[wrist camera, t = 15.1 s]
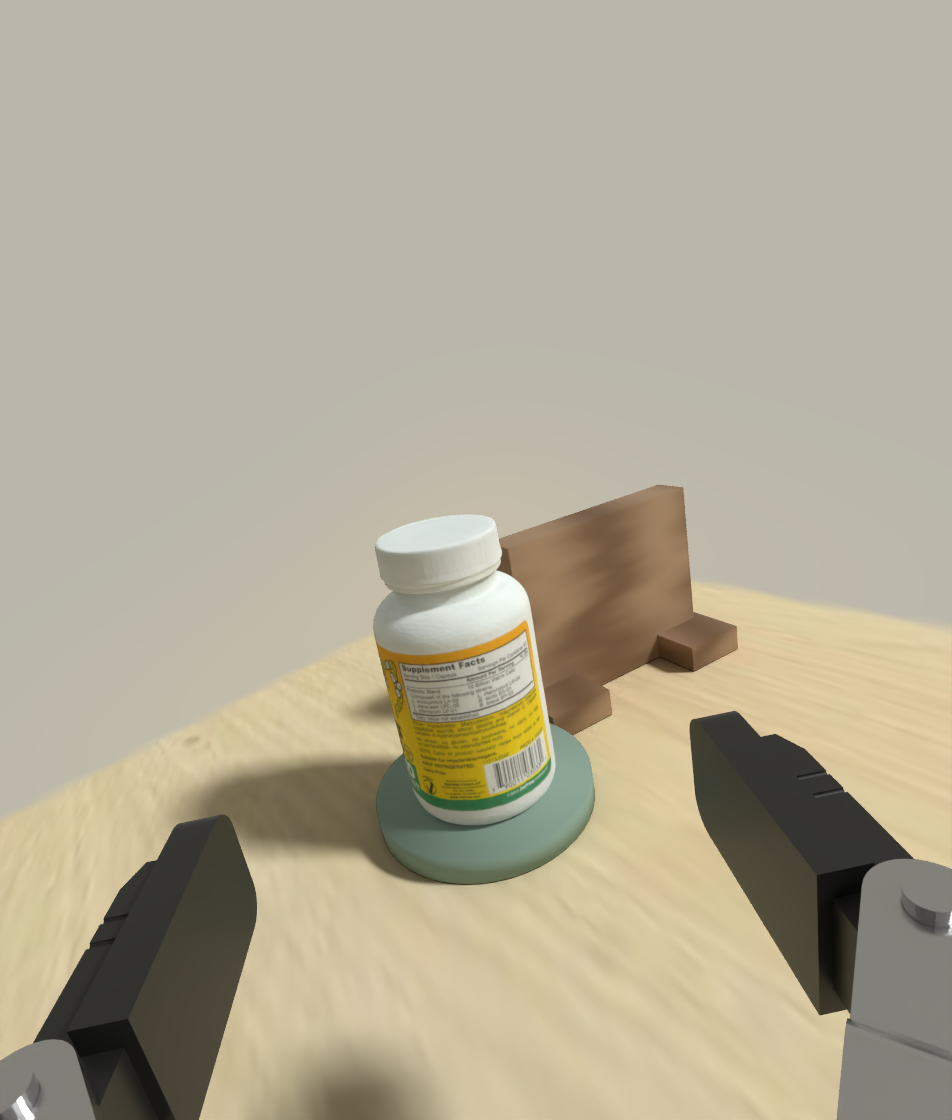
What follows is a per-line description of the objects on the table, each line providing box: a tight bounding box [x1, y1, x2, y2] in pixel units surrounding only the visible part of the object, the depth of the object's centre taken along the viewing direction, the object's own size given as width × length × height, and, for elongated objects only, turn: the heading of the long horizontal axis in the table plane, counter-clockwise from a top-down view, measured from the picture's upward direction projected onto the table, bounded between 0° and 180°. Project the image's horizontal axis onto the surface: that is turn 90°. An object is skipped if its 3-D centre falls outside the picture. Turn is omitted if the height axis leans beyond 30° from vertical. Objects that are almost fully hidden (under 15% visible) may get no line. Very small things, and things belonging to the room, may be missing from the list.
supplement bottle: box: [373, 515, 556, 825], centre depth 22 cm, size 5×5×10 cm
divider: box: [497, 485, 738, 735], centre depth 31 cm, size 11×6×8 cm, turn 120°
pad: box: [376, 723, 595, 884], centre depth 24 cm, size 8×8×1 cm
